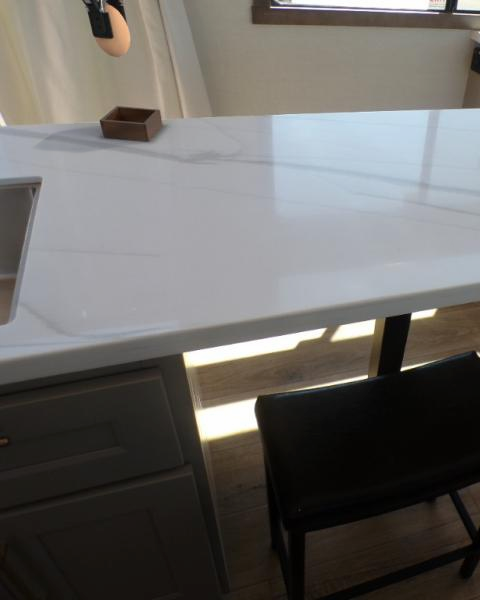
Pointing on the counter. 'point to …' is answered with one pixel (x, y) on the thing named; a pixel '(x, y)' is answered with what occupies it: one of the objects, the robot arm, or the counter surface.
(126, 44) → the egg
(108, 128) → the open wooden tray
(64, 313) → the counter surface
